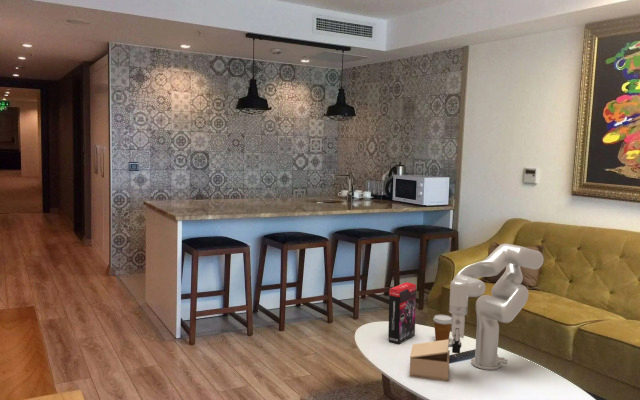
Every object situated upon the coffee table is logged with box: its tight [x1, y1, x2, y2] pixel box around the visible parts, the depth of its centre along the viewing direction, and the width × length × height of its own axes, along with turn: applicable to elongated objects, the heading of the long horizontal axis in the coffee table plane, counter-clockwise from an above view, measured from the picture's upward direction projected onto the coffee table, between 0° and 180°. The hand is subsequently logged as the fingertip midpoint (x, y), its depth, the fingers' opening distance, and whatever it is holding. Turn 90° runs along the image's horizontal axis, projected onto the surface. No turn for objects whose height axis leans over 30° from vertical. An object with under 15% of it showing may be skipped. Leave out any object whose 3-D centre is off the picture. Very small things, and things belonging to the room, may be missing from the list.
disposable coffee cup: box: [432, 314, 452, 341], centre depth 275 cm, size 10×10×12 cm
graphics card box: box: [387, 281, 417, 345], centre depth 275 cm, size 17×7×27 cm, turn 143°
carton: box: [409, 349, 451, 382], centre depth 238 cm, size 16×14×8 cm
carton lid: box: [409, 338, 462, 359], centre depth 236 cm, size 22×14×4 cm
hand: (456, 350), depth 234 cm, fingers closed on carton lid, 4 cm apart
